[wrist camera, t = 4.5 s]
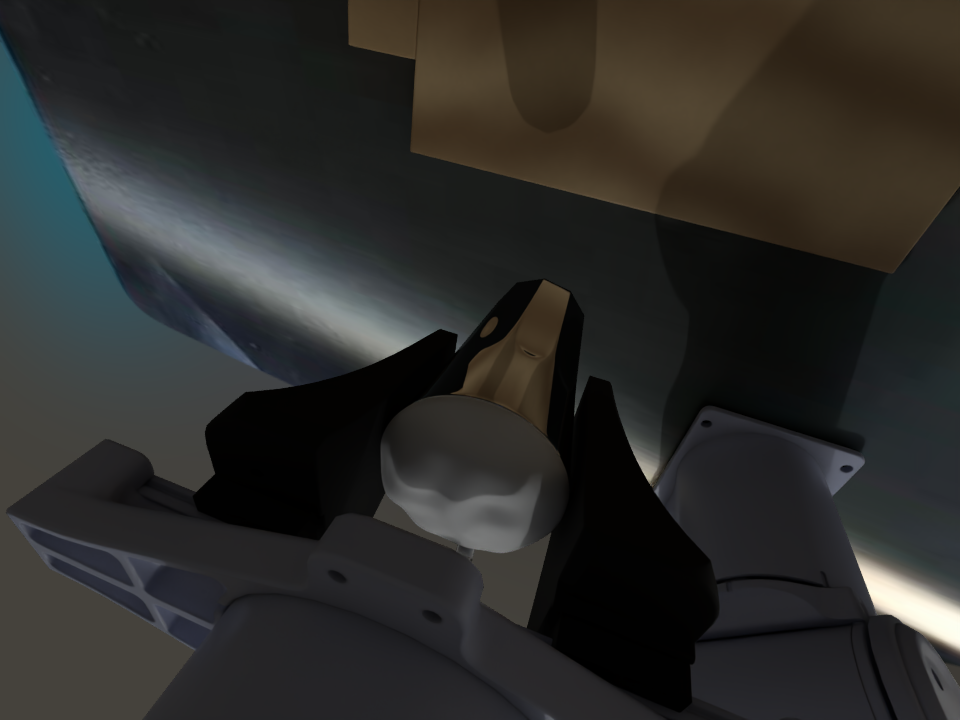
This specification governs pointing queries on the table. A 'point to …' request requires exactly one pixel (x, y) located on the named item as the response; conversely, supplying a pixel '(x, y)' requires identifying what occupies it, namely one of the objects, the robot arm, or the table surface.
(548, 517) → the milkshake
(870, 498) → the table surface
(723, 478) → the robot arm
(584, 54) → the board
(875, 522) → the table surface
